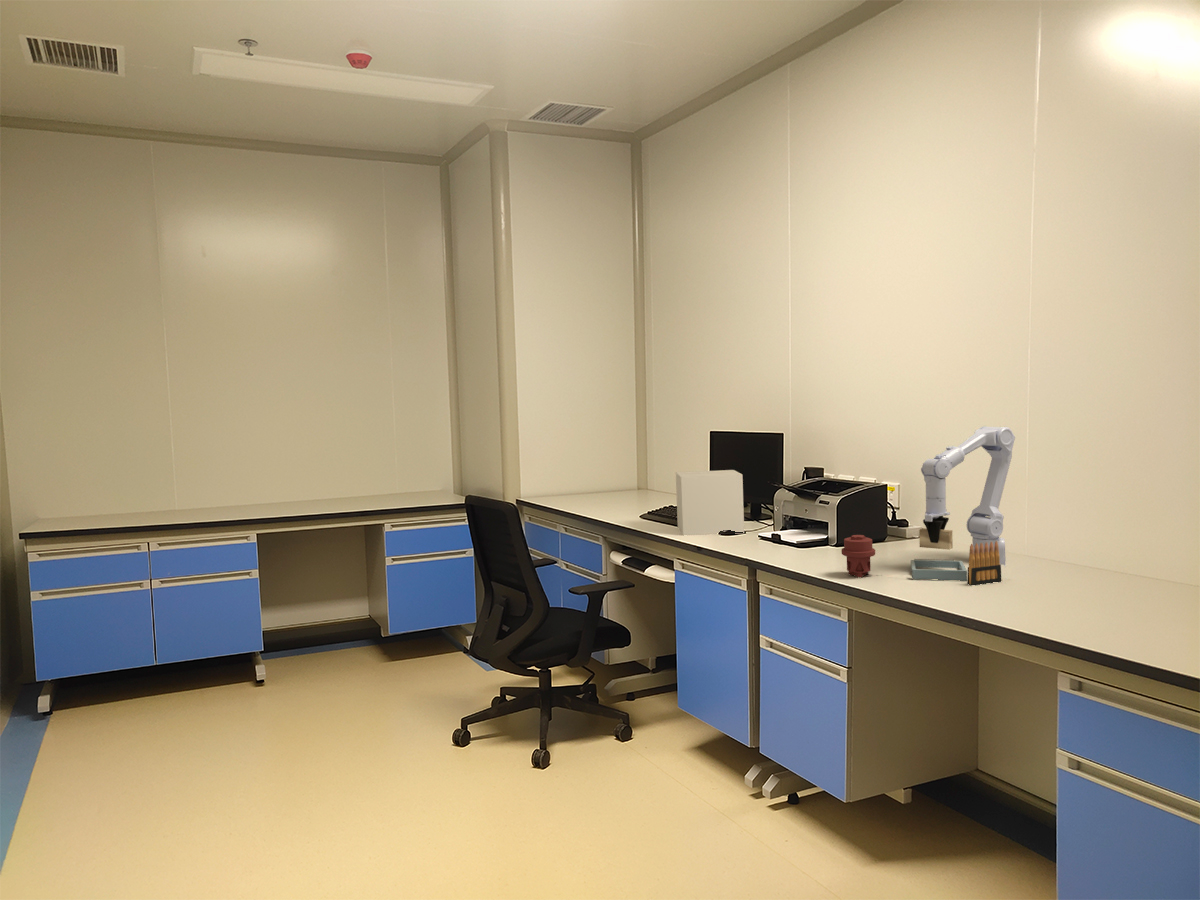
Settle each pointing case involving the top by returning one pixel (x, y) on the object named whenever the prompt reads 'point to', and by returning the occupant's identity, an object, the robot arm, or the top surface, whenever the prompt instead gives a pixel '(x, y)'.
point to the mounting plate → (935, 559)
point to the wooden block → (943, 542)
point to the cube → (709, 502)
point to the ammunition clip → (984, 564)
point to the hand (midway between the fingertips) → (936, 541)
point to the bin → (938, 574)
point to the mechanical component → (858, 554)
